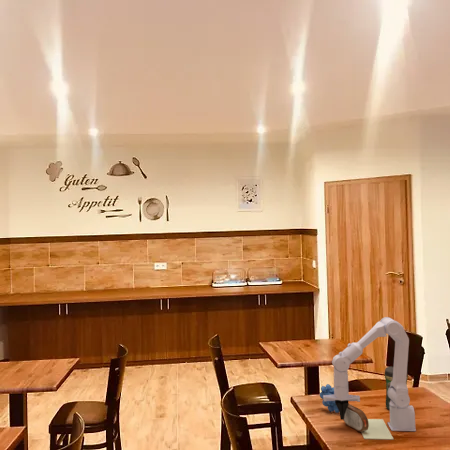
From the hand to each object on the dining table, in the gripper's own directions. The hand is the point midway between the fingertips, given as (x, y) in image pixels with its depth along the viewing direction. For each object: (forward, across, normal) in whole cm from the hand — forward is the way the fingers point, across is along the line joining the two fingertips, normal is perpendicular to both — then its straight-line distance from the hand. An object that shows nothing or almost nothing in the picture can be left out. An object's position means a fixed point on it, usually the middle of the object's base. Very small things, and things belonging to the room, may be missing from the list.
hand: (342, 418), depth 200 cm
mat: (+4, -12, 0) cm, 13 cm away
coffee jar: (+4, -27, -23) cm, 36 cm away
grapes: (+4, +3, -18) cm, 19 cm away
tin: (+4, -5, 0) cm, 6 cm away
